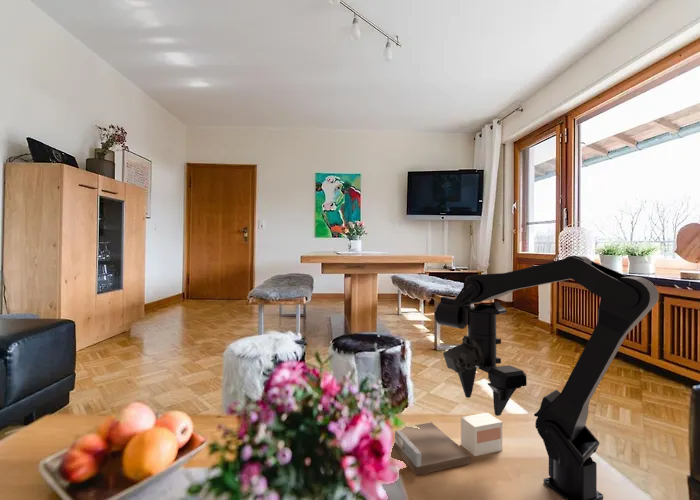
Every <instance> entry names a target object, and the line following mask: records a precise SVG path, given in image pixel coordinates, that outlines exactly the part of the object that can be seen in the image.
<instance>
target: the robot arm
mask: <svg viewBox="0 0 700 500" xmlns="http://www.w3.org/2000/svg"><path fill="white" fill-rule="evenodd" d="M569 280H573V281H574V282H575V283H578V284H579V285H580V286H581V287H584V289H586V290H588V291H589V293H591V294H594V295H595V296H598V297H599V298H600V302H599V305H598V311H597V322H596V326H595V328H594V329H593V332H592V333H591V335H590V337H589V338H588V341H587V343H586V344H585V346H584V348H583V350H582V352H581V354H580V356H579V358H578V360H577V362H576V363H575V366H574V367H573V369H572V371H571V373H570V375H569V377H568V378H567V380H566V383H565V384H564V386H563V388H562V390H561V392H560V391H559V390H558V389H555V390H553V391H552V392H550V393H548V394H546V395H545V396H543V398H542V400H541V402H540V407H539V409H538V410H537V411H536V412H535V413H534V414H533V416H534V417H536V420H535V428H536V430H537V434H538V435H539V437H540V439H542V442H543V445H544V446H545V449H546V454H547V456H548V477H545V478H543V483H544V484H545V485H546V486H548V487H549V488H550V489H552V490H554V491H555V492H556V493H557V494H559V496H561V497H563V498H564V499H565V500H603V499H604V494H603V493H601V492H600V491H599V490H597V489H598V488H597V487H598V486H597V485H598V484H597V483H598V482H597V480H598V477H597V465H598V464H597V462H596V461H595V460H593V458H592V457H591V456H592V455H593V454H594V453H596V452H597V451H598V448H599V446H600V444H601V443H600V441H599V440H598V439H597V438H596V436H595V435H594V434H593V433H592V432H591V431H590V429H589V428H588V427H587V426H586V423H587V419H588V417H589V416H588V415H589V407H590V402H591V399H592V397H593V396H594V395H595V392H596V390H597V388H598V387H599V385H600V383H601V381H602V380H603V378H604V376H605V374H606V373H607V371H608V370H609V367H610V366H611V363H612V362H613V360H614V359H615V357H616V355H617V353H618V351H619V349H620V348H621V345H622V344H623V342H624V341H625V339H626V338H627V335H628V334H629V333H630V332H631V331H632V330H633V329H634V328H635V327H636V326H637V325H638V324H639V323H640V322H641V321H642V320H643V319H644V318H645V317H646V316H647V314H648V313H649V312H651V310H652V309H653V308H654V307H655V306H656V304H657V303H658V302H659V297H660V293H659V291H658V289H657V287H656V285H654V283H653V282H652V281H650V280H648V279H646V278H644V277H640V276H627V275H625V274H623V273H621V272H619V271H616V270H613V268H609V267H606V266H604V265H602V264H599V263H597V262H595V261H593V260H591V259H590V258H588V257H587V256H583V255H569V256H567V257H565V258H563V259H559V260H555V261H550V262H546V263H542V264H538V265H533V266H528V267H525V268H520V269H516V270H512V271H507V272H503V273H502V272H499V273H482V274H481V273H480V274H471V275H468V276H467V277H466V278H465V280H464V282H463V287H462V288H461V290H460V291H459V293H458V295H457V296H456V297H455V298H454V297H451V296H441V297H440V301H439V303H438V305H436V308H435V312H434V318H435V321H436V323H437V324H438V325H440V326H445V327H450V328H455V329H460V330H462V329H463V330H464V329H465V328H467V335H463V337H462V343H461V344H459V345H456V346H453V347H451V348H449V349H447V350H446V351H444V352H443V354H442V355H443V358H444V361H445V363H446V367H447V369H449V370H452V371H454V372H455V373H456V374H458V377H459V381H460V383H461V386H462V389H463V392H464V396H465V398H467V399H468V398H471V397H472V393H473V391H474V390H473V389H474V384H475V379H476V373H477V369H479V370H480V371H483V372H485V373H487V378H488V380H489V382H487V385H488V386H489V388H490V389H491V390H492V397H493V410H494V411H493V412H494V415H495V416H496V417H499V416H501V415H502V413H503V411H504V409H505V407H506V406H507V404H508V402H509V400H510V398H512V396H513V394H514V393H515V391H516V390H517V389H521V388H522V387H527V386H528V385H527V373H526V372H524V370H522V369H519V368H517V367H515V366H512V365H510V364H509V365H500V366H497V364H502V358H501V357H498V356H497V345H501V344H502V338H499V337H497V315H498V316H499V315H503V314H507V313H508V311H507V309H506V308H505V307H504V306H502V305H501V303H500V302H499V301H493V302H491V304H488V303H487V304H486V303H482V302H485V301H492V300H495V299H498V298H501V297H503V296H506V295H508V294H510V293H512V292H515V291H517V290H521V289H527V288H532V287H536V286H543V285H549V284H553V283H558V282H562V281H569ZM473 304H476V305H475V306H471V305H473Z"/></svg>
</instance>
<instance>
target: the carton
mask: <svg viewBox="0 0 700 500" xmlns="http://www.w3.org/2000/svg"><path fill="white" fill-rule="evenodd" d="M460 446H462V447H463V449H464V448H465V450H467V451H468V452H469V453H470V454H471V455H472V456H474V457H478V456H482V455H488V454H492V453H496V452H501V451H503V421H502V420H500V419H498V418H497V417H495V416H493V414H491V413H489V412H484V413H483V412H482V413H478V414H470V415H465V416H460Z"/></svg>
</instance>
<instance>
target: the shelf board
mask: <svg viewBox="0 0 700 500" xmlns="http://www.w3.org/2000/svg"><path fill="white" fill-rule="evenodd" d="M414 425H415V426H417V427H419V428H420V429H418V428H413V427H407V426H404V427H405V428H403V429H402V430H398V431H395V443H394V446H392V447H393V448H394V450H395V451H396V452H397V454H398V455H399V456H400V458H402V460H403V461H404V463H406V465H407V466H408V467H409V468H410V469H411V471H412V472H413V473H414V474H415V476H419V475H424V474H428V473H435V472H437V471H442V470H446V469H451V468H454V467H455V468H456V467H460V466H464V465H470V464H471V455H470V454H469V453H468V452H467V451H465V449H464V448H462V447H461V445H460V446H459V444H457V443H456V442H455V441H454V440H452V439H451V437H449V436H448V435H447V434H446V433H445V432H444V431H443V430H441V429H440V428H439V427H438V426H436V425H435V424H434V423H433V422H432V421H431V422H425V423H420V424H414Z"/></svg>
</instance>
